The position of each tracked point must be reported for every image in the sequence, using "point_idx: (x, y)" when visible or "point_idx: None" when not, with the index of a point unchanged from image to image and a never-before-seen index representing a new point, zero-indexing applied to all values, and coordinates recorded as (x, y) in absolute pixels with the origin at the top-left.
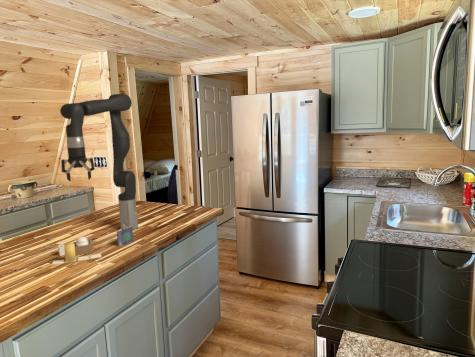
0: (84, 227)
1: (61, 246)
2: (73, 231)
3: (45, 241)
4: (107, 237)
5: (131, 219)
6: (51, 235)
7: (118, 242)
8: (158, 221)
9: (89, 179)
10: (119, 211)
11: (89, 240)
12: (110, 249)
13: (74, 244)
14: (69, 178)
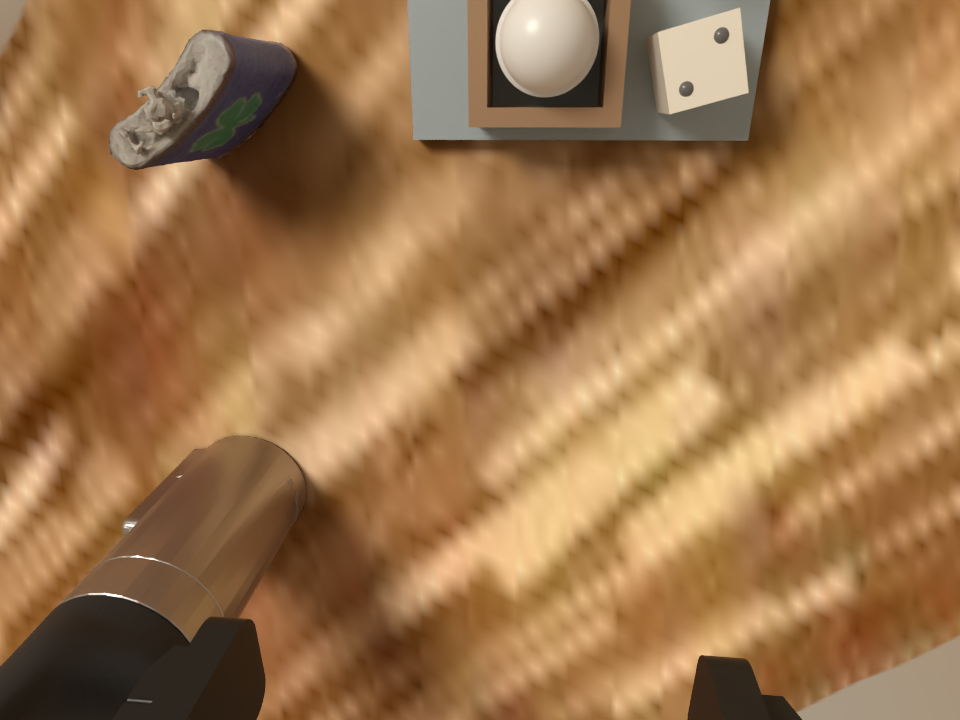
0: (540, 631)
1: (720, 30)
2: (608, 588)
3: (791, 475)
4: (387, 361)
5: (189, 479)
6: (746, 576)
7: (268, 43)
8: (76, 530)
9: (227, 620)
10: (250, 575)
11: (489, 108)
12: (352, 67)
13: (611, 45)
14: (741, 716)
